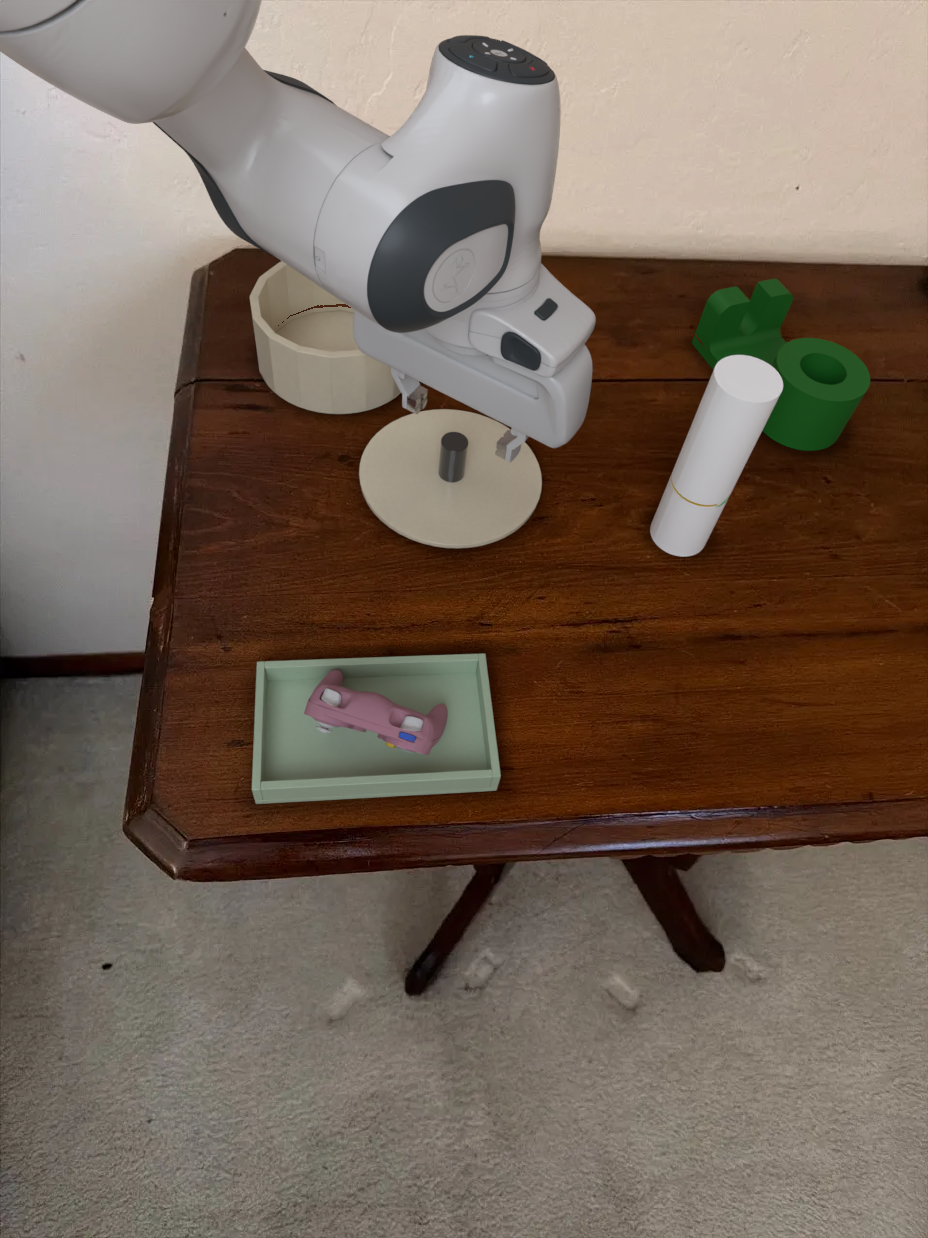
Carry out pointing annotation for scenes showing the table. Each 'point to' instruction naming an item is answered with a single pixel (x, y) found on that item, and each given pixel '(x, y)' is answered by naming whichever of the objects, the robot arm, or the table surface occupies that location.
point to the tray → (360, 761)
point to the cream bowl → (313, 347)
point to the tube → (715, 452)
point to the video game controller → (375, 715)
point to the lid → (448, 479)
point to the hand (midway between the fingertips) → (460, 430)
